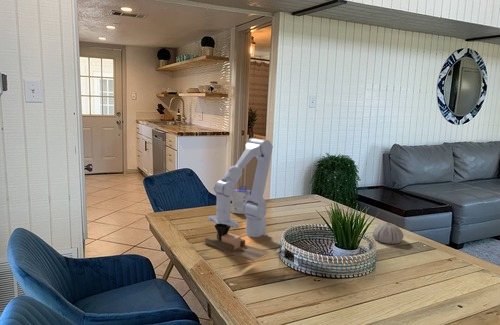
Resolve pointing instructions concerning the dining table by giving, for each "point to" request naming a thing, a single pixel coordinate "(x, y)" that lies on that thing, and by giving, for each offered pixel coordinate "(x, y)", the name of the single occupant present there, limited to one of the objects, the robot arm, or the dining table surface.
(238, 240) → the terracotta block
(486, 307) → the dining table surface
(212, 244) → the taupe railed channel
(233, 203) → the ink cartridge box
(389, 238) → the sea urchin shell
